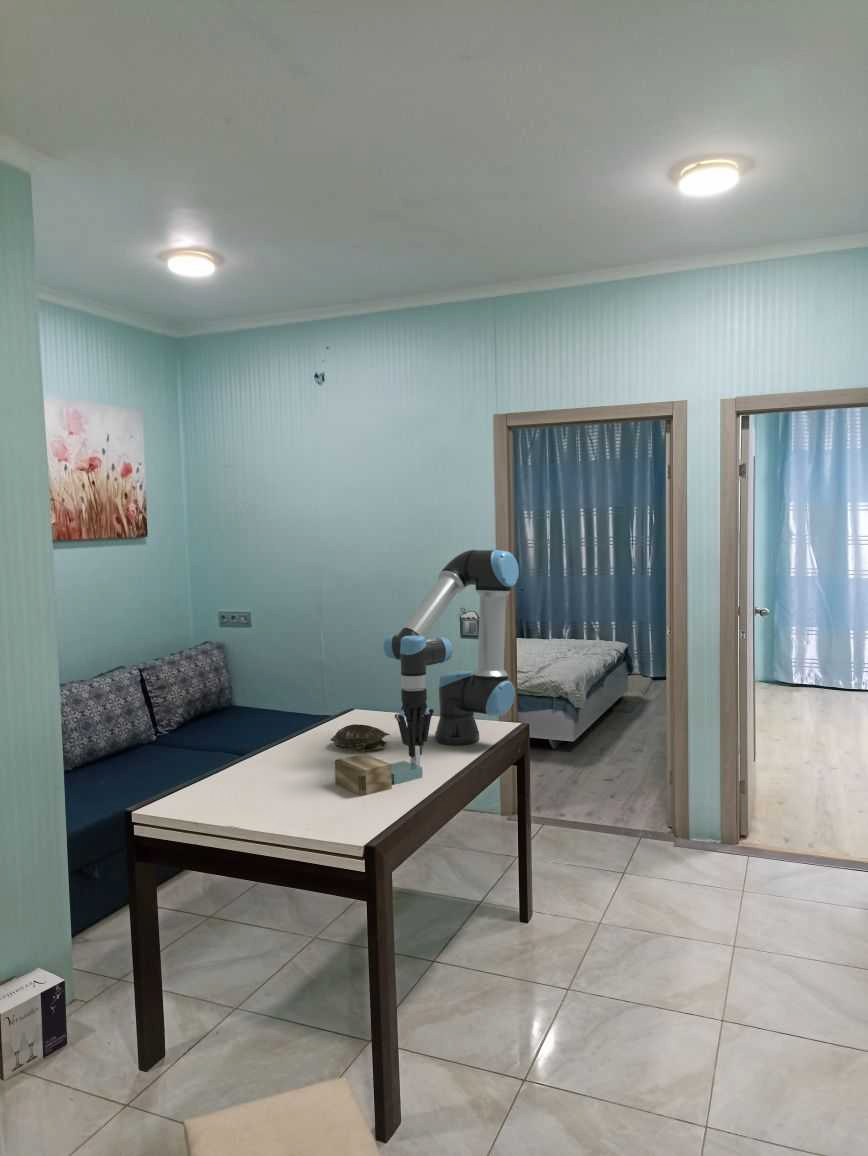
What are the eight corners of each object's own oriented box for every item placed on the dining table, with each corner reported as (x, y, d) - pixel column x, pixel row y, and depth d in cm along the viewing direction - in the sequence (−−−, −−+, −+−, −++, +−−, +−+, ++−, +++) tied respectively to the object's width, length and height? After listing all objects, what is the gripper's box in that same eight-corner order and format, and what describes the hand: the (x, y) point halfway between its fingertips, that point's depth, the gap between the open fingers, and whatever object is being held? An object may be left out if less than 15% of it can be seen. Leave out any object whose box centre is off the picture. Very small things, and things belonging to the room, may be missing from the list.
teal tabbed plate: (404, 770, 259) (404, 760, 259) (422, 777, 252) (422, 767, 252) (365, 779, 251) (365, 769, 250) (382, 787, 244) (382, 776, 243)
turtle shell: (346, 721, 299) (394, 716, 289) (351, 747, 299) (399, 742, 289) (318, 731, 285) (368, 726, 275) (323, 758, 284) (373, 754, 275)
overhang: (364, 777, 253) (364, 753, 253) (391, 788, 242) (391, 764, 242) (335, 783, 247) (334, 760, 247) (361, 796, 236) (361, 771, 236)
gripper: (423, 683, 261) (425, 760, 263) (388, 689, 253) (390, 768, 255) (439, 687, 255) (440, 765, 257) (403, 693, 247) (405, 774, 249)
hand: (415, 766), depth 256 cm, fingers closed
